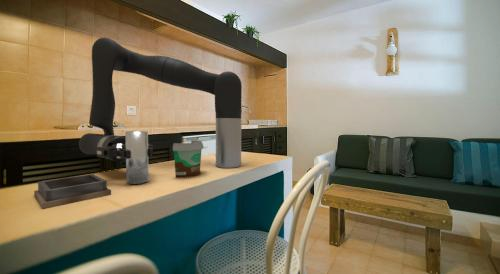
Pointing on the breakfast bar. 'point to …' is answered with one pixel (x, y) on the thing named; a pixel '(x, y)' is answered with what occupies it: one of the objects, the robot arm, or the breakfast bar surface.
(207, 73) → the robot arm
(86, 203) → the breakfast bar surface
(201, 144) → the food container
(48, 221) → the breakfast bar surface
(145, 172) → the silver tall shiny block
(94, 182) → the holder
